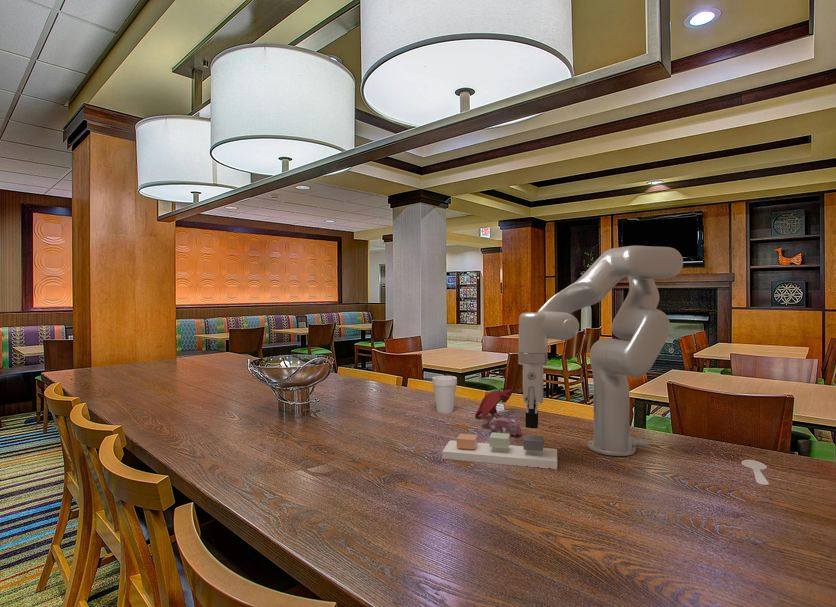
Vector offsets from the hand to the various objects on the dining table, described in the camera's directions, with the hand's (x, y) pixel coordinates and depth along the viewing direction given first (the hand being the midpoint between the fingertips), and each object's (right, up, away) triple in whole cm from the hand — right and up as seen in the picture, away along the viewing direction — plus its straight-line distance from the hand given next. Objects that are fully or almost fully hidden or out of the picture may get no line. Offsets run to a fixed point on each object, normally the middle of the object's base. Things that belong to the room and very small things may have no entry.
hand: (531, 427), depth 124 cm
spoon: (+54, -9, -9) cm, 55 cm away
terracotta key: (-17, -7, +5) cm, 19 cm away
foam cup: (-20, -9, +54) cm, 59 cm away
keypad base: (-8, -9, +3) cm, 12 cm away
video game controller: (-3, -9, +24) cm, 25 cm away
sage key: (-8, -6, +3) cm, 10 cm away
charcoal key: (+1, -6, 0) cm, 6 cm away
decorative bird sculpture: (-4, -9, +42) cm, 43 cm away
